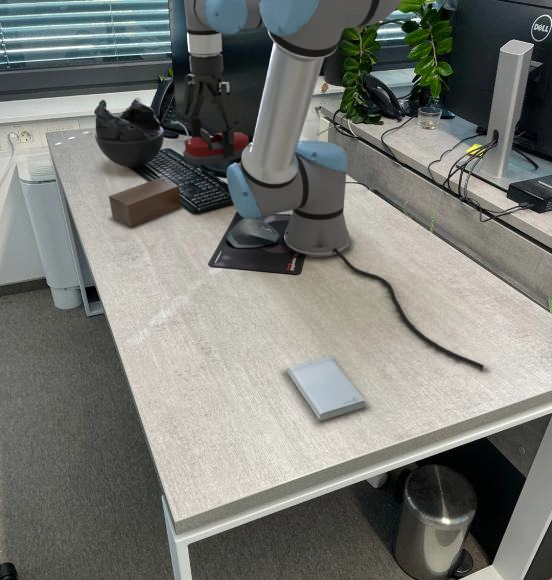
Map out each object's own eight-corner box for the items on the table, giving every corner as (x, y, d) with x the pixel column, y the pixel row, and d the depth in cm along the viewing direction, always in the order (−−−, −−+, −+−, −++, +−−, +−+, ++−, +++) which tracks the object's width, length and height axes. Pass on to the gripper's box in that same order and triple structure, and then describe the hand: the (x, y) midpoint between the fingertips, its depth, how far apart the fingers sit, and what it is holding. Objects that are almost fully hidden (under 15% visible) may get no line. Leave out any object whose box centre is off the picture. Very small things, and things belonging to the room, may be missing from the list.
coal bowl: (180, 161, 179) (174, 97, 168) (136, 182, 166) (125, 115, 154) (133, 149, 188) (123, 88, 176) (87, 169, 174) (73, 104, 163)
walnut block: (181, 207, 153) (178, 185, 149) (131, 227, 144) (127, 205, 140) (162, 199, 157) (159, 177, 154) (112, 218, 148) (108, 196, 144)
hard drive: (365, 400, 92) (330, 354, 101) (319, 414, 90) (287, 366, 99) (364, 407, 93) (329, 362, 102) (319, 421, 91) (287, 374, 100)
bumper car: (257, 155, 145) (256, 114, 139) (183, 170, 137) (179, 127, 131) (239, 144, 152) (238, 104, 146) (168, 157, 144) (163, 116, 138)
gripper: (253, 58, 126) (256, 157, 140) (185, 44, 139) (194, 137, 152) (228, 63, 122) (234, 166, 135) (160, 49, 134) (171, 144, 148)
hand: (212, 150), depth 144 cm, fingers closed on bumper car, 11 cm apart
